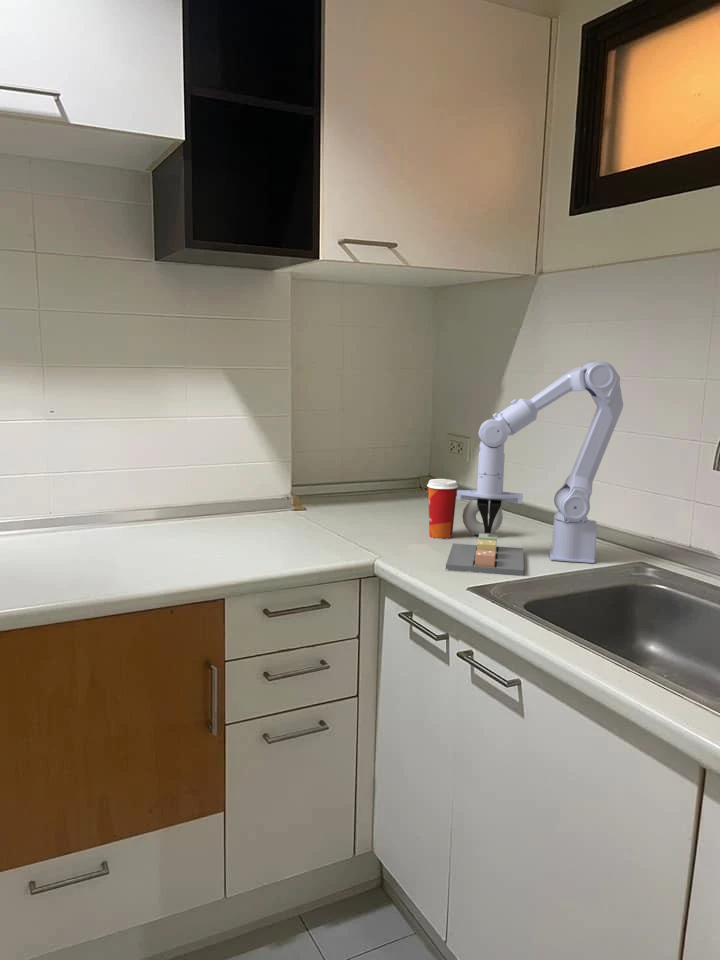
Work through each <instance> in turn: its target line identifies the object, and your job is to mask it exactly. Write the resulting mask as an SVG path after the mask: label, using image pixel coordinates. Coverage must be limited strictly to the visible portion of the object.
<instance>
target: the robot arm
mask: <svg viewBox="0 0 720 960" xmlns="http://www.w3.org/2000/svg"><path fill="white" fill-rule="evenodd" d="M620 384H621V377H620V375H619V373H618V372H617V371H616V369H615V367H614V366H613V365H612V364H611V363H610V362H607V361H603V360H601V361H597V360H588V361H586V362H584V363H583V364H581V366H577V367H575V368H573V369H571V370H570V371H568V372H566V373H564V374H563V375H561V376H560V377H559V378H557V379H556V380H555V381H554V382H552V383H551V384H549V385H548V386H546V387H545V388H543V389H542V390H541V391H539V392H538V393H537V394H536V395H534V396H533V397H531V398H530V399H528V398H519V399H518V400H517V399H516V398H515V399H513V400H512V401H510V404H511V405H509V406H508V407H506V408H505V409H503V410H502V411H500V412H499V413H497V412H495V413H493V414H492V417H493V418H490V419H486V420H484V422H482V423H481V424H480V427H479V430H478V438H479V439H480V443H479V452H478V459H477V460H478V461H477V463H478V464H477V483H476V485H477V487H476V489H471V490H470V489H469V490H468V489H465V490H464V489H463V490H462V489H458V490H457V492H456V501H462V500H464V501H471V500H477V506H478V509H479V514H480V517H481V519H482V523H483V524H484V531H485V533H490V534H491V529H492V525H493V522H494V519H495V517H496V515H497V513H498V511H499V509H500V508H501V507H502V503H514V504H515V503H516V504H523V499H524V497H523V493H519V492H518V493H516V492H509V491H508V492H507V491H504V479H505V478H504V476H505V475H504V474H505V455H506V454H505V443H506V442H507V440H508V438H509V436H513V435H515V434H517V433H518V432H520V431H521V430H522V429H524V428H526V427H527V426H529V425H530V424H531V423H533V422H534V421H536V420H537V416H538V412H539V411H541V410H542V409H544V408H545V407H547V406H549V405H551V404H552V403H554V402H555V401H557V400H559V399H560V398H562V397H563V396H566V394H569V393H570V392H581V391H582V392H583V391H587V393H589V394H590V395H591V398H592V400H593V402H594V404H595V405H596V410H595V412H594V415H593V417H592V420H591V422H590V425H589V427H588V430H587V432H586V435H585V437H584V440H583V443H582V445H581V447H580V450H579V451H578V452H579V453H578V455H577V457H576V460H575V462H574V464H573V467H572V469H571V472H570V474H569V475H568V476H567V477H566V479H565V480H564V483H563V485H562V486H561V487H560V488H558V490H557V491H555V494H554V496H553V497H554V498H553V502H554V506H555V507H556V509H557V511H556V513H555V514H554V515H553V526H552V527H553V531H552V543H551V549H548V550H549V558H550V560H551V561H558V562H559V561H560V562H571V563H572V562H573V563H585V564H586V563H587V564H590V563H591V564H595V563H596V560H595V559H596V553H597V537H598V536H597V533H598V532H597V531H598V527H597V524H598V523H597V521H596V520H593V519H592V520H590V519H588V515H589V512H590V509H591V505H590V500H591V496H592V494H593V482H594V479H595V477H596V474H597V473H598V472H597V471H598V470H599V468H600V465H601V463H602V460H603V457H604V455H605V452H606V450H607V448H608V446H609V443H610V440H611V438H612V436H613V433H614V431H615V428H616V426H617V423H618V421H619V419H620V416H621V414H622V411H623V407H624V401H623V397H622V396H623V395H622V389H621V385H620ZM489 501H490V511H489V514H488V506H489ZM488 520H489V524H488Z"/></svg>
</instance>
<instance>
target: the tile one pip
mask: <svg viewBox="0 0 720 960" xmlns="http://www.w3.org/2000/svg"><path fill="white" fill-rule="evenodd" d="M478 540H493V541H496V546H497V544H498V542H497V541H498V534H496V533H495V534H494V533H493V534H483V533H479V536H478V539H477V541H478Z"/></svg>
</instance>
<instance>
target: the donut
mask: <svg viewBox="0 0 720 960" xmlns="http://www.w3.org/2000/svg"><path fill="white" fill-rule="evenodd" d="M489 511H490V501H489V506H488V515H489ZM478 513H480V511H479V509H478V506H477V500H469V502H468V503H467V504H466V505H465V506H464V508H463V511H462V516H461V517H462V522H463V525H464V527H465V528H466V529H467V530H468V531H469V533H471V534H473V535H474V536H478V537H479V533H483V534H490V533H485V531H484V524H483V522H480V521H478V520H477V514H478ZM503 519H504V516H503V510H502V508H501V507H500V509H499V511H498V513H497V515H496V517H495V519H494V522H493V525H492V529H491V534H494V533H496V532H497V530H499V529H500V527H501V525H502V524H503ZM488 524H489V519H488Z"/></svg>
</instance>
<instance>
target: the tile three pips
mask: <svg viewBox="0 0 720 960" xmlns="http://www.w3.org/2000/svg"><path fill="white" fill-rule="evenodd" d="M495 560H496V559H495V551H484V550H476V554H475V565H474V566H482V567H496V566H495Z"/></svg>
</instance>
